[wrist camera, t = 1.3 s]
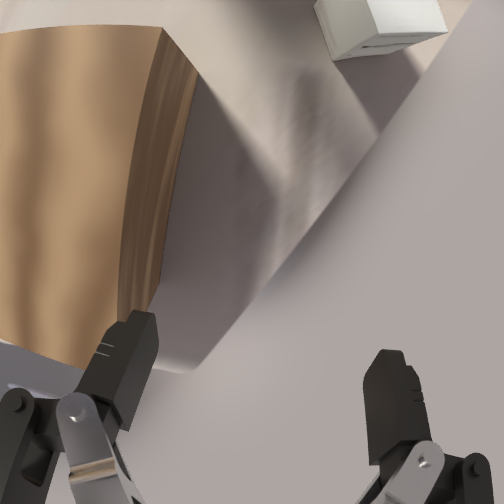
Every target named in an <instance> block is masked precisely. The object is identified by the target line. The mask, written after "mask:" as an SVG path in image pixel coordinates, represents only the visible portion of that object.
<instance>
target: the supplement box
mask: <svg viewBox="0 0 504 504" xmlns="http://www.w3.org/2000/svg"><path fill="white" fill-rule="evenodd" d="M313 7H314V10H315V12H316V15H317V18H318V20H319V23H320V26H321V29H322V32H323V35H324V38H325V40H326V44H327V47H328V49H329V53H330V56H331V59H332V61H337V60H342V59H347V58H353V57H361V56H370V55H383V54H390V53H392V52H395V51H398V50H400V49H403V48H406V47H409V46H411V45H414V44H417V43H420V42H422V41H425V40H428V39H430V38H433V37H436V36H439V35H442V34H445V33H448V30H447V27H446V24H445V21H444V18H443V15H442V13H441V10H440V8H439V5H438V2H437V0H317V2H316V3H315V5H314V6H313Z"/></svg>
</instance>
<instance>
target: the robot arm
mask: <svg viewBox="0 0 504 504" xmlns="http://www.w3.org/2000/svg"><path fill="white" fill-rule="evenodd" d="M158 345H159V340H158V333H157V326H156V318H155V314H153V313H149V312H144V311H140V310H135V309H134V310H132V312H131V313H130V315H129V317H128V319H127V321H126V323H125V322H121V321H117V322H115V323H114V324H113V325H112V326H111V327H110V328H108V329H107V330H106V332H105V334H104V336H103V338H102V340H101V343H100V344H99V345H98V347H97V349H96V353H94V355H93V357H92V359H91V361H90V362H89V364H88V366H87V368H86V370H85V372H84V374H83V377H82V378H81V380H80V383H79V384H78V386H77V388H76V389H75V391H74V392H72V393H69V394H67V395H65V396H64V397H62V398H61V399H44V398H34V397H33V396H32V395H31V394H30V392H28V391H27V390H25V389H23V388H13V389H11V390H9V391H8V392H7V393H6V394H5V395H4V396H3V398H2V400H1V402H0V504H45V500H46V497H47V493H48V490H49V487H50V483H51V480H52V477H53V473H54V470H55V467H56V464H57V460H58V458H59V455H60V452H65V453H66V456H67V460H68V463H69V466H70V471H71V472H70V474H69V483H70V487H71V490H72V493H73V495H74V498H75V501H76V504H145V501H144V500H143V498H142V496H141V494H140V492H139V490H138V489H137V487H136V485H135V483H134V481H133V479H132V477H131V475H130V472H129V470H128V468H127V465H126V463H125V461H124V458H123V456H122V453H121V451H120V448H119V446H118V443H117V441H116V437H117V434H118V432H119V429H122V430H125V431H129V429H130V426H131V423H132V421H133V418H134V415H135V412H136V409H137V406H138V404H139V401H140V398H141V396H142V393H143V390H144V387H145V385H146V382H147V380H148V377H149V374H150V371H151V369H152V366H153V364H154V361H155V358H156V356H157V352H158ZM363 393H364V403H365V413H366V424H367V436H368V452H369V465H379V466H380V472H379V473H378V474H377V475H376V476H375V478H374V479H373V480H372V482H371V483H370V485H369V486H368V487H367V489H366V490H365V491H364V493H363V494H362V495H361V497H360V498H359V499H358V500H357V502H356V503H355V504H494V497H493V487H492V478H491V471H490V465H489V462H488V460H487V459H486V457H485V456H484V455H482V454H480V453H472V454H470V455H468V456H467V457H466V458H460V457H455V456H452V455H447V454H444V453H443V451H442V449H441V448H440V446H439V445H437V444H436V443H434V442H433V441H432V438H431V433H430V428H429V423H428V417H427V412H426V407H425V403H424V402H423V400H424V398H423V393H422V392H421V385H420V381H419V377H418V375H417V374H416V372H415V371H414V369H413V367H412V366H407V365H406V363H405V359H404V355H403V352H402V351H398V350H386V349H382V350H380V351H379V353H378V355H377V356H376V358H375V359H374V361H373V363H372V364H371V366H370V367H369V369H368V370H367V372H366V374H365V377H364V381H363Z"/></svg>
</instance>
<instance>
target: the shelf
mask: <svg viewBox="0 0 504 504" xmlns="http://www.w3.org/2000/svg"><path fill="white" fill-rule="evenodd" d="M198 75H199V72H198V71H197V70H196V69H195V67H194V66H193V65H192V63H191V62H190V61H189V60H188V58H187V57H186V56H185V55H184V53H183V52H182V51H181V50H180V48H179V47H178V46H177V45H176V43H175V42H174V41H173V40H172V38H171V37H170V36H169V35H168V34H167V32H166V31H165V30H164V29H163V28H162V27H152V26H135V25H75V26H59V27H47V28H37V29H29V30H21V31H15V32H8V33H2V34H0V338H1V339H3V340H5V341H8V342H10V343H12V344H15V345H17V346H20V347H22V348H25V349H27V350H30V351H32V352H35V353H37V354H40V355H43V356H45V357H48V358H51V359H54V360H56V361H60V362H62V363H65V364H68V365H71V366H74V367H77V368H81V369H83V370H86V368H87V366H88V364H89V362H90V361H91V359H92V357H93V355H94V353H96V349H97V347H98V345H99V344H100V343H101V340H102V338H103V336H104V334H105V332H106V330H107V329H108V328H110V327H111V326H112V325H113V324H114V323H115V322H117V321H121V322H125V323H126V321H127V319H128V317H129V315H130V313H131V312H132V310H134V309H135V310H140V311H144V312H146V311H147V309H148V307H149V304H150V302H151V300H152V298H153V296H154V293H155V291H156V289H157V287H158V285H159V279H160V272H161V264H162V257H163V249H164V243H165V236H166V229H167V223H168V217H169V211H170V205H171V199H172V193H173V188H174V182H175V177H176V172H177V167H178V162H179V157H180V152H181V147H182V142H183V137H184V133H185V128H186V124H187V119H188V115H189V111H190V107H191V102H192V98H193V94H194V90H195V86H196V82H197V78H198Z"/></svg>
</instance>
